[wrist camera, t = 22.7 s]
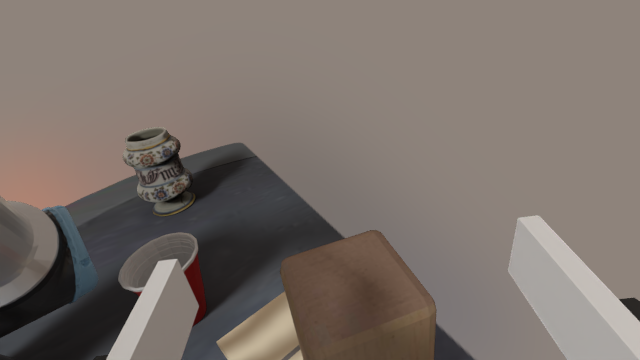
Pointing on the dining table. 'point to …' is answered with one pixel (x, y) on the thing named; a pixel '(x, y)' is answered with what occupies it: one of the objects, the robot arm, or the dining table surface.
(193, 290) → the plastic cup
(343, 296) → the wooden block
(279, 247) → the dining table surface
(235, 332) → the board
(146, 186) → the apothecary jar
